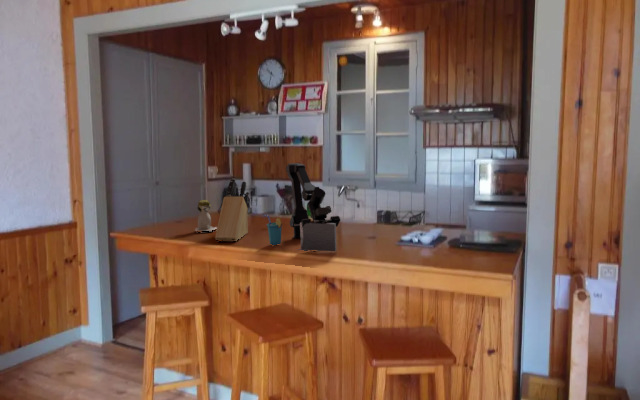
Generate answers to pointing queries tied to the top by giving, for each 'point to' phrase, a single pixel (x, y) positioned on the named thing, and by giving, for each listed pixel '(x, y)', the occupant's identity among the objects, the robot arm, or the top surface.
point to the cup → (274, 231)
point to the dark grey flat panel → (318, 236)
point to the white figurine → (204, 217)
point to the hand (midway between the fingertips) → (325, 238)
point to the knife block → (233, 214)
